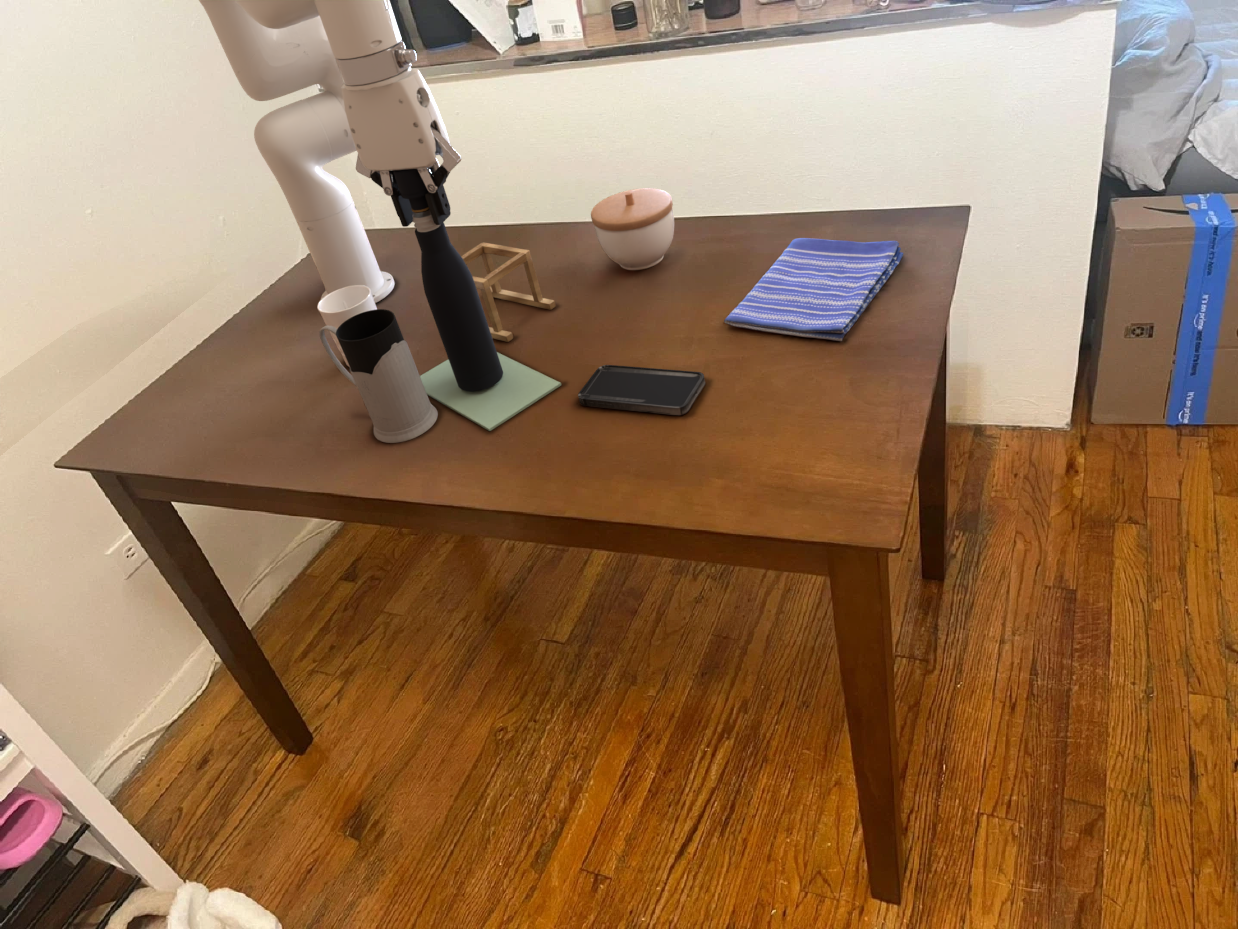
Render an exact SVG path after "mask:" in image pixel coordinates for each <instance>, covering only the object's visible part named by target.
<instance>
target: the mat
mask: <svg viewBox="0 0 1238 929" xmlns="http://www.w3.org/2000/svg"><path fill="white" fill-rule="evenodd" d="M497 354H498V357H499V361H500V364H501V367H502V370H503V376H502V378H501V379H500V381H499V382H498V383H496V384H495V385H494V386H492V387H490V388H488V389H485V390H481V391H476V392H467V391H464V390H462V389H460V388H459V387H458V384H457V381H456V379H455V376H454V373H453V370H452V367H451V365H450V362H449V359H448V358H447V359H446V360H444V361H443V362H441V363H440V364H438V365H436V366H434V367H432V368H431V369H429V370H427V371H426V372H424V373H422V374H420V378H421V380H422V383H423V385H424V388H425V391H426V393H427V396H428V397H430V398H432V399H434V400H435V401H437V402H439V403H441V404H442V405H444V406H446V407H447V408H448V409H451V410H452V411H454V412H456V413H457V414H459V415H461V416H463V417H464V418H466V419H468V420H470V421H471V422H473V423H475V424H476V425H478V426H479V427H482V428H483V429H485V430H487V431H488V432H491V431H493V430H494V429H496V428H497V427H499V426H501V425H502V424H504V423H506V422H507V421H508V420H510V419H511V418H513V417H515V416H516V415H518V414H519V413H521V412H522V411H524V410H525V409H527V408H529V407H530V406H532V405H534V404H535V403H536V402H538V401H540V400H541V399H542V398H544V397H546V396H547V395H549V394H550V393H552V392H553V391H556V389H558V388H560V387H561V386H562V382H560V381H558V380H556V379H553V378H552V377H549V376H547V375H545V374H543V373H541V372H540V371H537V370H535V369H533V368H531V367H529V366H526V365H524V364H523V363H520V362H519V361H516V360H515V359H512V358H510V357H508V356H506V355H504V354H501V353H500V352H498V351H497Z"/></svg>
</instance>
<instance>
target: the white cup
mask: <svg viewBox="0 0 1238 929" xmlns="http://www.w3.org/2000/svg"><path fill="white" fill-rule="evenodd" d="M316 308H317V311H318V312H319V315H320V317H321V318H322V320H323V322H324V324H325V326H327V325H329V326H333V327H335V328H336V329H338V327H339V326H340V325H341V324H342V323H343V322H345V321H346V320H348V319H349V318H351V317H353V316H355V315H357V314H360V313H363V312H366V311H370V310H377V309H378V308H377V303H375V302H374V299H373V296H372V293H371V290H370V288H368V287H367V286H362V285H354V286H348V287H344V288H341V289H338V290H336V291H334V292H332V293H330V294H328V295H326V296H325V297H324V298H323V299H321V298H320V300H319V301H318V303H317V307H316ZM328 333H329V335H330V337H331V338H332V340H333V341H334V344H335V346H336V348H337V350H338V351H339V353H340V354H341V357H342V359H343V361H344V363H345V365H346V366H347V367H349V368H350V366H349V364H348V361H347V359H346V357H345V355H344V352H343V350H342V348H341V345H340V343H339V341H338V339H337V336H336V335H335V334H334V333H332V332H331V331H329V330H328Z"/></svg>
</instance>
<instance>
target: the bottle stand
mask: <svg viewBox="0 0 1238 929" xmlns="http://www.w3.org/2000/svg"><path fill="white" fill-rule="evenodd" d="M492 255H495V256H500V257H505V258H506V257H507V258H510V259H509V260H507V261H506V262H505V263H503V264H501V265H500V266H498V267H497V268H495V265H494V262H493V258H492ZM460 256H461V257H462V258H463V260H464V262H465V263H466V265H467V266H468V265H469V264H470V263H472V262H473V261H474V260H476V259H478V258H479V257H481V259H482V262H483V265H484V268H485V272H486V276H484V277H479V276H478V277H477V276H474V275H472V277H473V279H474V283H475V286H476V289H480V292H481V295H482V299H483V301H484V305H485V308H486V310H487V314H488V317H489V320H490V323H491V326H492V327H491V326H489V329H490V332H491V336H492V339H493V340H498V341H502V342H506V343H509V342H510V341H512V340H513V339H514V335H513V333H512V332H511V331H507V330H504V328H503V324H502V321H501V319H500V315H499V312H498V309H497V305H496V302H495V299H494V298H496V299H501V300H505V301H509V302H513V303H519V304H523V305H526V306H532V307H537V308H540V309H544V310H548V311H552V310H553V309H554V308H555V307H557V305H556V302H555V300H553V299H549V298H545V297H543V295H542V291H541V286H540V283H539V281H538V280H539V279H538V277H537V273H536V269H535V266H534V261H533V259H532V255H531V252H530V250H529V249H523V248H519V247H512V246H508V245H507V246H506V245H501V244H496V243H495V244H494V243H489V242H483V241H482V242H481V243H479V244H478V245H476V246H474V247H473V248H471V249H470V250H468V251H467V252H465V253H464V254H462V255H460ZM522 265H523V267H524V270H525V274H526V277H527V281H528V284H529V289H530V292H531V295H530V294H526V293H521V292H517V291H512V290H507V289H503V288H501V285H500V281H501V279H503V278H505V276H507V275H509V274H510V273H511V272H513V271H514V270H516V269H517V268H519V267H520V266H522Z"/></svg>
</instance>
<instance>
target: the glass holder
mask: <svg viewBox="0 0 1238 929" xmlns="http://www.w3.org/2000/svg"><path fill="white" fill-rule="evenodd" d="M326 330H327V331H328V332H329V331H331V332H332V333H334V334H335V335H336V336H337V339H338V341H339V343H340V345H341V348H342V350H343V352H344V355H345V357H346V359H347V361H348V364H349V366H350V367H349V366H348V367H349V371H348V370H347V369H346V368H345V367H344V365H343V364H342V363H341V362H340V360H339V359H338V358H337V356H336V355H335V353H334V351H333V350H332V348H331V346H330V344H329V342H328V340H327V338H326V337H327V336H326V335H325V331H326ZM318 332H319V340H320V341H321V344H322V346H323V348H324V350H325V352H326V354H327V355H328V357H329V358H330V360H331V361H332V363H333V364H334V365H335V367H336V369H338V370H339V372H340V373H341V374H342V375H343V376H344V377H345V378H346V379H347V380H348V381H349V382H351V384H353V385H354V386H355V387H356V388H357V390H358V392H359V394H360V397H361V399H362V401H363V403H364V406H365V408H366V410H367V412H368V416H369V417H370V420H371V422H372V425H373V435H374V437H375V439H377V440H378V441H379V442H383V443H387V444H389V443H390V444H395V443H403V442H406V441H411V440H412V439H415V438H417V437H419V436H421V435H423V434H424V433H426V432H428V431H429V430H430V429H431V428H432V427H433V426H434V424H435V423H436V422H437V420H438V416H439V412H438V410H437V408H436V407H435V406H434V405H433V404H432V403H431V401H430V398H429V395H427V393H426V391H425V388H424V385H423V383H422V380H421V378H420V376H421V374H420V373H419V370H418V368H417V365H416V363H415V360H414V357H413V355H412V352H411V349H410V348H409V345H408V342H407V341H406V340H405V338H404V336H403V333H402V331H401V328H400V325H399V323H398V320H397V318H396V316H395V313H394V312H393V311H391V310H389V309H382V308H381V309H379V308H377V310H370V311H366V312H363V313H360V314H357V315H355V316H353V317H351V318H349V319H348V320H346V321H345V322H343V323H342V324H341V325H340V326H339V327H338V329H336V328H335V327H333V326H329V325H327V326H326V325H325V326H323V327H321V328H320V330H319V331H318Z"/></svg>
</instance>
